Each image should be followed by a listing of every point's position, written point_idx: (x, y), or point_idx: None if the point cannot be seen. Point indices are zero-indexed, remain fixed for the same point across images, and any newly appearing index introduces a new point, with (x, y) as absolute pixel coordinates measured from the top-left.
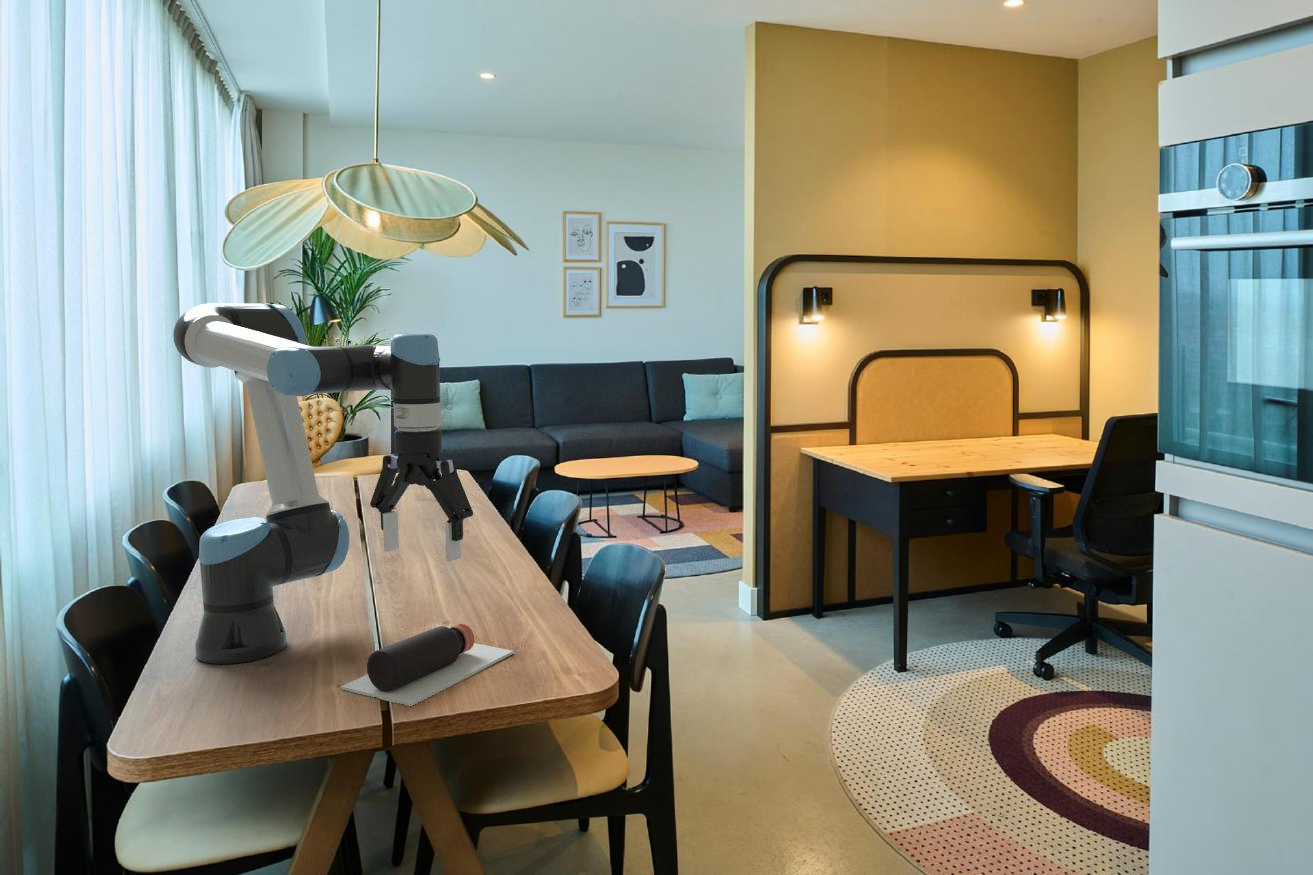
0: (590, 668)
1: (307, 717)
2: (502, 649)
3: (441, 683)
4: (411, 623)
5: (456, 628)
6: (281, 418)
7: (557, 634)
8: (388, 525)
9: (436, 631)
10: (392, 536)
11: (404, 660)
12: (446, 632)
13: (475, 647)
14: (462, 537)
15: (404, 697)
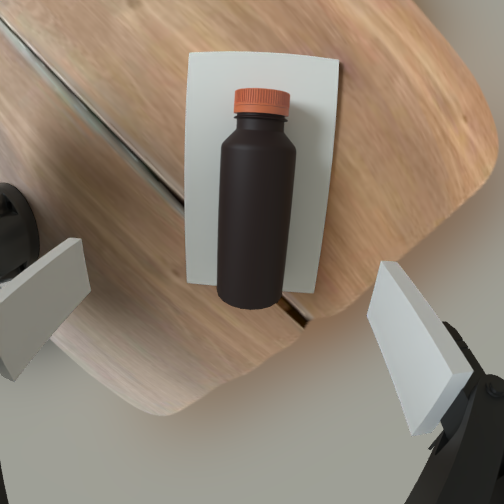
0: (467, 93)
1: (219, 347)
2: (317, 60)
3: (312, 223)
4: (88, 36)
5: (265, 117)
6: None
7: None
8: (38, 338)
9: (263, 181)
10: (59, 292)
11: (279, 285)
12: (277, 166)
13: (266, 68)
14: (452, 329)
15: (293, 281)
